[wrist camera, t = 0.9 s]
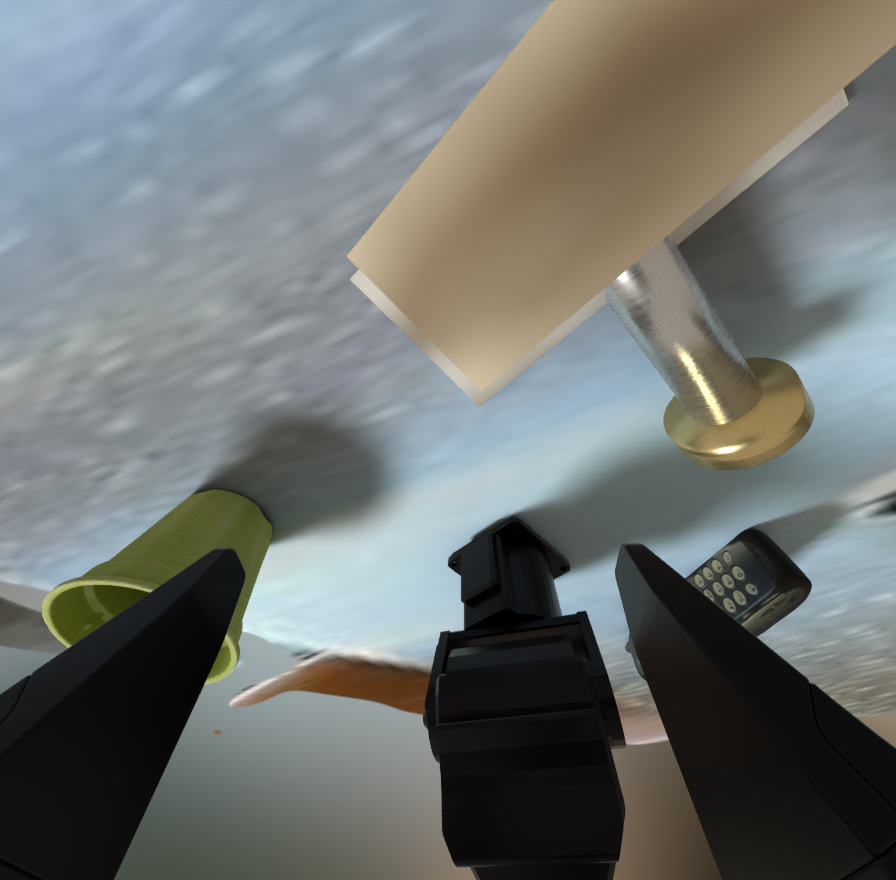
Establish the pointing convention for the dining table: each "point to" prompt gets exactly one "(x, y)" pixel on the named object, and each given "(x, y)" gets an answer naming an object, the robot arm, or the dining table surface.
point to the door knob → (707, 368)
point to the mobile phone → (749, 583)
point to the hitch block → (600, 163)
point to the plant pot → (166, 568)
